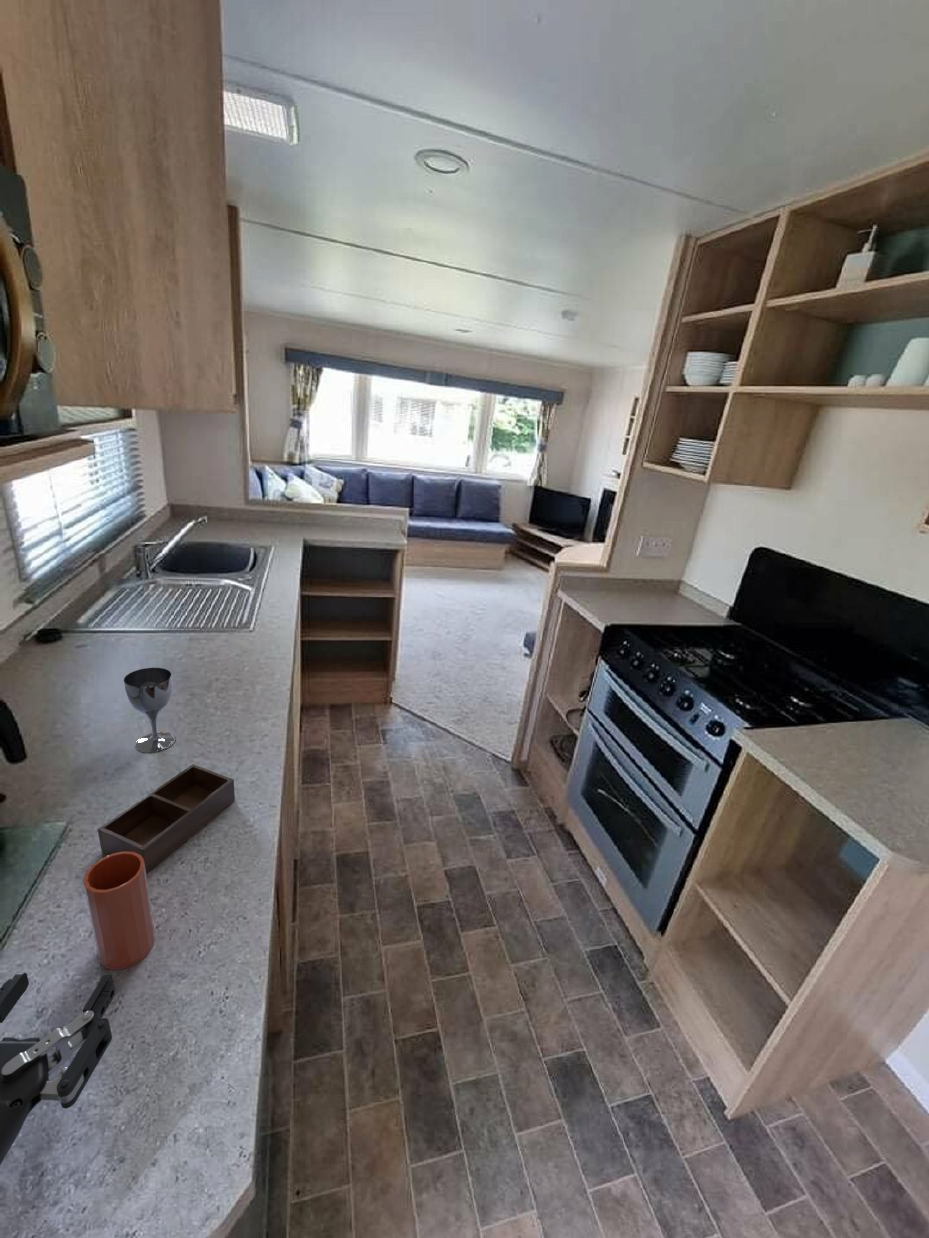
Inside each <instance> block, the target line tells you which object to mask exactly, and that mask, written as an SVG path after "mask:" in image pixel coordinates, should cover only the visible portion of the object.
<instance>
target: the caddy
mask: <svg viewBox="0 0 929 1238" xmlns="http://www.w3.org/2000/svg"><path fill="white" fill-rule="evenodd" d="M235 794H236V793H235V780H234V779H233V778H230V777H228V776H226V775H223V774H220V773H218V772H215V771H212V770H211V769H207V768H204V767H202V766H199V765H197V764H195V763H192V764H191V765H190V766H188V767H186V768H185V769H184V770H182V771H180V772H179V773H178V774H176V775H175V776H173V777H172V778H170V779H169V780H167V781H166V782H164V783H163V784H161V785H160V786H159V787H157V788H156V789H154V790H152V791H151V792H150V793H148V794H147V795H146V796H144V797H142V798H141V799H140V800H137V802H135V803H134V804H132V805H131V806H129V807H127V809H125V810H124V811H122V812H120V813H119V814H117V815H116V816H114V817H113V818H111V819H110V820H109V821H107V822H106V823H104V824H102V825H101V826H100V827H99V828H97V832H98V833H97V834H98V839H99V845H100V850H101V851H100V852H101V853H102V854H104V855H106V856H109V855H111V854H114V853H118V852H123V851H126V852H135V853H137V854H139V855H141V856H142V858H143V860H144V862H145V869H146V874H149V873H150V872H151V871H152V870H153V869H154V868H156V867H157V866H159V864H161V863H162V862H163V861H164V860H165V859H167V858H168V857H169V856H170V855H171V854H173V853H174V852H175V851H176V850H177V849H179V848H180V847H181V846H182V845H183V844H185V843H186V842H187V841H188V840H190V839H191V838H192V837H193V836H194V835H195V834H197V833H198V832H199V831H200V830H201V829H203V828H204V827H205V826H206V825H207V824H209V822H211V821H212V820H213V819H214V818H215V817H217V816H218V815H219V814H220V813H222V812H223V811H224V810H225V809H227V807H229V806H230V805H231V804H232V803H234V802H235V801H236V795H235Z"/></svg>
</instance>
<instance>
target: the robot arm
mask: <svg viewBox="0 0 929 1238" xmlns="http://www.w3.org/2000/svg"><path fill="white" fill-rule="evenodd" d="M29 985H30V981H29V977H28V974H27V972H16V973H15V974H14V975H13V977H12V978H8V980H6V981H5V982H4V983H3V984H2V985H1V987H0V1024H3V1022H4V1021H5V1020H6V1019H7V1017H8V1016H9V1014H10V1013H11V1011H12V1010H13V1009H14V1007H15V1006H16V1005H17V1003H18V1002H19V1000H20V999H21V998H22V996H23V995H24V993H26V991H27V989H28V987H29ZM115 995H116V985H115V981H114V978H113V974H103V975H102V976H101V978H100V979H99V981H98V983H97V985H96V986H95V988H94V990H93V992H92V993H91V995H90V997H89V998H88V1000H87V1002H86V1003H85V1005H84V1006H83V1008H82V1009H81V1010H82V1013H81V1014H80V1015H79V1016H78V1017H76V1018H74V1019H73V1020H72V1021H71V1022H69V1023H68V1024H67V1025H65V1026H63V1027H62V1026H61V1027H60V1026H59V1027H57V1028H55V1029H54V1030H53V1031H51V1032H50V1033H49V1034H47V1035H46V1036H44V1037H43V1038H42V1039H41V1038H40V1037H33V1036H31V1037H26V1038H22V1039H19V1038H16V1037H13V1036H3V1038H2V1039H1V1040H0V1166H1V1165H2V1163H3V1162H4V1160H5V1158H6V1156H7V1155H8V1153H9V1151H10V1149H11V1148H12V1146H13V1144H14V1142H15V1141H16V1139H17V1137H18V1136H19V1134H20V1132H21V1130H22V1127H23V1125H24V1124H25V1121H26V1119H27V1118H28V1116H29V1114H30V1113H31V1111H33V1109H34V1108H35V1107H36V1106H38V1104H40V1102H42V1101H54V1102H59V1103H60V1106H61V1108H62V1109H64V1110H65V1109H69V1108H71V1107H72V1106H74V1105H75V1103H76V1102H77V1101H78V1099H79V1097H80V1096H81V1094H82V1092H83V1090H84V1089H85V1087H86V1085H87V1083H88V1082H89V1080H90V1079H91V1077H92V1075H93V1073H94V1072H95V1070H96V1068H97V1066H98V1064H99V1063H100V1061H101V1060H102V1058H103V1056H104V1054H105V1052H106V1051H107V1049H108V1047H109V1046H110V1043H112V1040H113V1034H112V1030H111V1029H112V1028H111V1025H110V1020H109V1019H108V1018H107V1017H104V1015H105V1014H106V1012H107V1010H108V1008H109V1006H110V1005H111V1003H112V1001H113V1000H114V997H115ZM53 1049H55V1051H54V1053H53V1054H52V1055H50V1056H49V1057H48V1053H49V1052H50V1051H52V1050H53ZM77 1050H78V1051H77ZM76 1051H77V1053H76V1054H75V1056H74V1057H73V1059H72V1061H71V1062H70V1063H69V1065H68V1066H64V1067H63V1068H61V1070H60V1072H59V1073H58V1075H57V1076H56V1077H54V1078H53V1079H51V1080H50V1075H51V1074H53V1073H54V1072H56V1070H58V1069H59V1068H60V1067H61V1066H63V1065H64V1064H65V1063H66V1062H68V1061H69V1060H70V1059H71V1058H72V1056H73V1054H74V1052H76Z"/></svg>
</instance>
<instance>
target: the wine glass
mask: <svg viewBox="0 0 929 1238" xmlns="http://www.w3.org/2000/svg"><path fill="white" fill-rule="evenodd" d="M123 685H124V692H125V695H126V698H127V701H128V702H129V705H130V706H131V708H133V709H134V710H135V711H136V712H138V713H140V714H142V715H144V716H145V717H146V718H147V719H148V720H149V724H150V726H151V727H150V728H151V733H148V734H145V735H146V736H145V735H143V736H142V737H140V738H141V739H140V738H139V739H138V740H137V741H138V743H136V742H135V744H136V745H134V747H135V749H136V750H137V751H138V750H139V751H138V752H141V753H145V754H146V753H148V754H149V753H151V752H152V753H157V752H156V751H157V750H158V752H161V751H160V750H161V749H163V748H164V747H168V746H169V744H170V743H171V742H170V741H174V738H173V737H172V736H171V734H172V733H171V734H169V733H170V732H168V733H163V732H164V731H159V732H160V733H157V732H158V731H157V721H158V716H159V714H160V713H161V712H162V711H163V710H164V709H165V707H166V706H168V704H169V703H170V702H171V701H170V700H171V698H172V692H173V675H172V672H171V671H170V670H169V669H167V668H162V667H146V668H140V669H137V670H133V671H131V672H129V673H128V674H127V675H125V676H124V678H123ZM170 745H171V744H170ZM137 748H138V749H137Z"/></svg>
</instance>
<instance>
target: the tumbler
mask: <svg viewBox="0 0 929 1238" xmlns="http://www.w3.org/2000/svg"><path fill="white" fill-rule="evenodd" d="M82 882H83V889H84V892H85V898H86V903H87V907H88V913H89V918H90V922H91V927H92V932H93V937H94V942H95V947H96V951H97V955H98V960H99V963H100V964H101V966H102V967H103V968H104V969H107V970H110V971H120V970H124V969H128V968H130V967H132V966H135V965H136V964H137V963H139V962H140V961H142V960H143V959H144V958H145V957H147V955H149V953H150V951H151V950H152V949H153V946H154V944H155V940H156V935H155V933H156V931H155V925H154V918H153V912H152V905H151V897H150V891H149V884H148V877H147V873H146V869H145V862H144V860H143V858H142V856H141V855H139V854H137V853H135V852H126V851H123V852H118V853H114V854H111V855H109V856H108V855H106V856H104V857H102V858H100V859H99V860H97V861H96V862H95V863H94V864H92V865H91V866H90V867H89V868H88V870H87V871H86V872H85V874H84V878H83V881H82Z"/></svg>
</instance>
